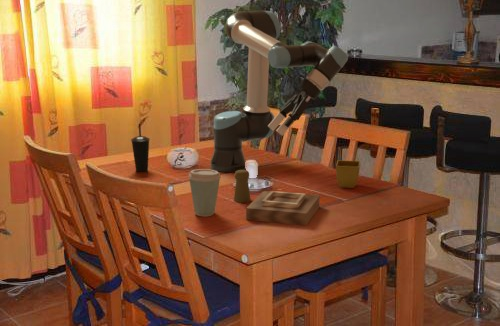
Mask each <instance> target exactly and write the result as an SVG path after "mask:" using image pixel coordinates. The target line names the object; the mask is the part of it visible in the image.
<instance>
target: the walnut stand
mask: <svg viewBox="0 0 500 326" xmlns="http://www.w3.org/2000/svg"><path fill="white" fill-rule="evenodd" d="M320 198H321V197H320V195H316V194H306V193H301V192H291V191H290V192H286V191H276V190H271V191H267V190H264V191H262V192H261V193H260V194H259V195H258V196H257V197H256V198H254V200H253V201H252V202H251V203H250V204H249V205H248V206H247V207H246V208H245V210H246V211H245V217H246V218H245V220H247V221H255V222H257V221H258V222H265V223H266V222H267V223H275V224H276V223H277V224H279V223H280V224H286V225H296V226H297V225H298V226H307V225H308V223H310V221H311V220H312V218H313V217H314V215H315V214H316V212H317V211H318V209H319V208H320V201H321V200H320Z"/></svg>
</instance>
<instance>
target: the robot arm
mask: <svg viewBox="0 0 500 326" xmlns="http://www.w3.org/2000/svg"><path fill="white" fill-rule="evenodd" d="M224 28H225V34H226V36H227V37H228V38H229V39H230V41H232V42H234V43H236V44H238V45H244V46H245V47H247V48H248V58H247V59H248V61H247V62H248V63H247V87H246V105H245V106H244V107H243V108H242V112H241V111H238V110H230V111H229V110H228V111H223V112H220V113H218V114H216V115H215V116H214V118H213V143H214V144H213V146H214V149H213V153H212V157H211V161H210V170H215V171H217V172H219V173H220V172H224V173H230V172H231V173H233V172H236V171H237V170H246V168H245V162H246V163H247V160H246V158H245V154H244V151H243V143H244V142H249V141H260V140H264V139H268V138H269V137H271V136H272V135H273V133H274V132H275V131H276V132H277V133H278V134H279V135H280V136H282V137H283V136H284V135H285V134H286V132H288V130H289V129H290V128H291V126H292V125H293V124H294V123H295V122H296V121H299V120H300V118H301V117H302V115H303V113H304V112H305V111H306V109H307V108H308V105H309V104H310V103H311V101H312V100H316V99H317V98H318V97H319V96H320V94H321V91H324V89H326V88H328V87H329V85H328V84H329V83H330V82H331V81H332V80H333V79H334V78H335V77H336V75H337V74H338V73H339V72H340V71H341V69H342V68H344V66H345V64H346V63H347V62H348V60H349V57H348V56H349V55H348V54H347V53H346V52H345V50H343V49H342V48H341V47H339V46H338V45H337V46H336V45H332V46H331V47H330V48H329V49H327V48H325V47H324V46H321V45H320V44H318V43H316V42H314V41H313V42H312V41H309V40H308V41H305V42H304V43H302V44H299V45H287V44H286V43H283V42H281V40H278V39H279V36H280V34H281V24H280V19H279V18H278V17H277V15H276V14H275V12H273V11H270V10H249V11H243V10H241V11H237V12H235V13H232V14H230V16H229V17H228V18H227V20H226V22H225V27H224ZM270 66H271V67H272V68H273V69H285V68H297V67H299V68H300V67H309V66H310V67H313V68H312V69H311V71H310V72H309V73H308V74H307V75H306V78H304V79H303V80H302V81H301V82H300V84H299V85H298V88H299V89H300V90H301V91H300V92H298V91H297V92H295V93H294V95H293V96H292V97H291V98H290V99H289V100H288V101H287V102H286V103H284V104H283V106H281V107H280V109H279V110H278V113H277V114H276V116H275V115H274V113H273V112H271V108H270V107H269V106H268V91H269V68H270Z"/></svg>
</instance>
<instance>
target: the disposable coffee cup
mask: <svg viewBox="0 0 500 326" xmlns="http://www.w3.org/2000/svg"><path fill="white" fill-rule="evenodd" d="M220 179H221V174H220V172H219V171H215V170H212V169H211V168H199V169H197V168H196V169H192V170H189V173H188V180H189V186H190V191H191V197H192V204H193V211H194V213H195V215H197V216H199V217H210V216H213V215H214V214H215V211H216V206H217V198H218V193H219V188H220V187H219V185H220V181H221V180H220Z"/></svg>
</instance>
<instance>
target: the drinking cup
mask: <svg viewBox="0 0 500 326" xmlns="http://www.w3.org/2000/svg"><path fill="white" fill-rule="evenodd" d="M141 129H142V128H141V123H138V134H139V135H138V136H137V135H136V136H134V137H133V138H131V139H130V142H131V145H132V152H133V159H134V167H135V172H136V173H140V172H142V173H147V172H148V169H149V151H150V140H151V139H150V138H149V137H147V136H144V135H142V131H141Z"/></svg>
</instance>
